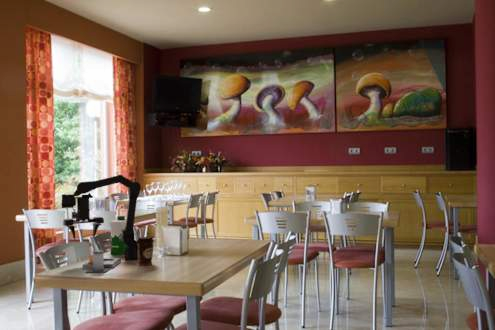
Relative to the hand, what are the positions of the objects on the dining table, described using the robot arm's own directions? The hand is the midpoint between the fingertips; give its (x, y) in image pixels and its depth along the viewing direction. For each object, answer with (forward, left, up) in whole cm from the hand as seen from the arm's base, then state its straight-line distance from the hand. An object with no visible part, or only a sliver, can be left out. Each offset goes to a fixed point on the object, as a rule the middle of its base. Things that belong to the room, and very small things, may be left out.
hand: (84, 238), depth 270 cm
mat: (-13, +22, -12) cm, 28 cm away
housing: (-11, +8, -12) cm, 18 cm away
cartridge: (-13, +21, -12) cm, 28 cm away
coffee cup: (-32, +8, -12) cm, 35 cm away
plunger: (-8, +13, -11) cm, 18 cm away
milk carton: (-11, -26, -12) cm, 31 cm away
